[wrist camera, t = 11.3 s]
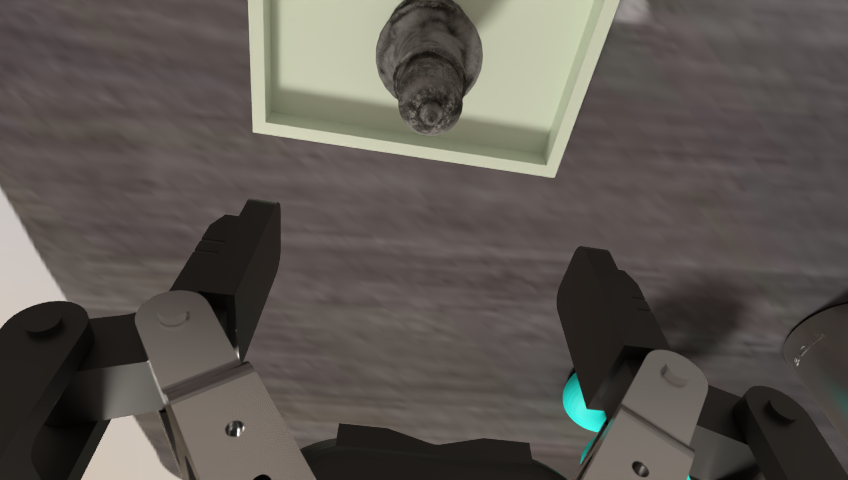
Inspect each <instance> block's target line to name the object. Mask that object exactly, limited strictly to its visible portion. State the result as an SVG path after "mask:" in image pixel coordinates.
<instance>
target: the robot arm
mask: <svg viewBox="0 0 848 480" xmlns="http://www.w3.org/2000/svg"><path fill="white" fill-rule="evenodd" d="M280 251H281V211H280V204H279V203H278V202H272V201H265V200H258V199H251V198H250V199H248V201H247V203H246V204H245V206H244V208H243V210H242V212H241V213H240V215H239V216H233V215H224V216H223V217H221V218H220V219H218V220H217V221H215V222H214V223H212V224H211V225H210V226H209V227H208V229H207V231H206V232H205V234H204V236H203V237H202V241H200V242H199V244H198V245H197V247H196V248H195V252H193V253H192V255H191V257H190V258H189V260H188V261H187V263H186V265H185V266H184V268H183V270H182V271H181V273H180V274H179V276H178V278H177V279H176V281H175V282H174V284H173V286H172V287H171V289H170V291H169V292H164V293H161V294H158V295H156V296H154V297H152V298H150V299H149V300H147V301H146V302H145V303H143V304H142V305H141V306H140V308H139V309H138V311H137V312H136V313H133V314H128V315H121V316H112V317H103V318H94V319H89V317H88V314H87V312H86V311H85V309H84V308H83V307H81V306H80V305H78V304H75V303H72V302H66V301H54V302H46V303H41V304H37V305H34V306H31V307H29V308H26V309H24V310H22V311H20V312H19V313H17V314H16V315H14V316H13V317H12V318H10V319H9V320H8V321H7V322H6V323H5V324H4V325H3V326H2V328H1V329H0V480H81V478H82V476H83V474H84V472H85V470H86V468H87V466H88V464H89V462H90V460H91V458H92V456H93V454H94V452H95V450H96V448H97V446H98V444H99V442H100V440H101V438H102V436H103V434H104V432H105V430H106V428H107V426H108V424H109V423H110V420H111V419H112V418H119V417H125V416H130V415H136V414H142V413H147V412H153V411H157V412H158V415H159V418H160V420H161V423H162V426H163V429H164V431H165V434H166V437H167V439H168V442H169V445H170V447H171V450H172V453H173V455H174V458H175V461H176V464H177V466H178V469H179V472H180V474H181V477H182V480H567V479H566V478H565V477H563V476H562V475H561V474H559V473H558V472H557V471H555V470H553V469H552V468H550V467H548V466H547V465H545V464H543V463H540V462H538V461H536V460H533V459H532V456H531V451H530V445H529V443H524V442H515V441H505V440H495V439H485V438H483V439H476V440H469V441H463V442H456V443H449V444H443V445H434V444H430V443H427V442H425V441H422V440H419V439H416V438H413V437H410V436H408V435H405V434H402V433H399V432H396V431H393V430H390V429H388V428H379V427H369V426H359V425H350V424H340V423H339V428H338V434H337V438H335V439H329V440H325V441H321V442H317V443H314V444H311V445H309V446H306V447H304V448H302V449H299V448H298V446H297V444H296V442H295V441H294V439H293V437H292V435H291V433H290V432H289V430H288V428H287V426H286V424H285V423H284V421H283V419H282V417H281V415H280V414H279V412H278V410H277V408H276V407H275V405H274V403H273V401H272V399H271V398H270V396H269V394H268V392H267V390H266V389H265V387H264V385H263V383H262V381H261V380H260V378H259V376H258V374H257V373H256V371H255V369H254V368H253V366H252V365H251V364H250V363H249V362H247V361H246V362H244V363H243V361H244V358H245V355H246V353H247V350H248V347H249V345H250V342H251V339H252V337H253V334H254V331H255V329H256V326H257V323H258V321H259V318H260V316H261V313H262V310H263V308H264V305H265V302H266V300H267V297H268V294H269V292H270V289H271V286H272V284H273V281H274V278H275V276H276V273H277V270H278V266H279V260H280ZM557 310H558V314H559V317H560V321H561V324H562V327H563V331H564V334H565V337H566V341H567V344H568V348H569V351H570V354H571V358H572V361H573V365H574V368H575V371H576V375H577V378H578V382H579V385H580V388H581V392H582V395H583V398H584V402H585V405H586V409H590V410H599V411H604V412H605V415H606V420H605V421H604V423H603V425H602V426H601V428H600V430H599V432H598V433H597V435H596V437H595V439H594V441H593V442H592V444H591V446H590V448H589V450H588V452H587V453H586V455H585V457H584V459H583V461H582V463H581V464H580V466H579V468H578V470H577V472H576V473H575V475H574V477H573V479H572V480H687V477H688V475H689V477H690V480H848V475H847V474H846V472H845V471H844V469H843V467H842V466H841V464H840V463H839V461H838V460H837V458H836V457H835V455H834V453H833V452H832V450H831V449H830V447H829V446H828V444H827V443H826V441H825V439H824V438H823V436H822V435H821V433H820V432H819V430H818V428H817V427H816V425H815V424H814V422H813V421H812V419H811V418H810V416H809V415H808V413H807V412H806V411H805V410H804V409H803V408H802V407H801V406H800V405H799V404H798V403H797V402H795V401H794V400H793V399H792V398H790V397H789V396H787V395H785V394H784V393H782V392H780V391H778V390H775V389H773V388H770V387H765V386H754V387H751V388H750V389H749V390H748V391H747V392H746V393H745V394H744V395H743V396H742V397H739V396H736V395H734V394H731V393H728V392H726V391H723V390H720V389H718V388H715V387H712V386H710V385H708V383H707V380H706V378H705V376H704V375H703V373H702V372H701V371H700V369H699V368H698V367H697V366H696V365H695V364H693V363H692V362H691V361H690V360H688V359H687V358H685V357H683V356H681V355H679V354H677V353H675V352H672V351H671V349H670V347H669V345H668V343H667V341H666V339H665V337H664V335H663V333H662V331H661V329H660V327H659V325H658V323H657V321H656V319H655V317H654V315H653V314H652V313H650V311H651V310H650V308H649V306H648V304H647V302H646V301H645V298H644V296H643V294H642V292H641V290H640V288H639V286H638V284H637V283H636V282H635V281H634V280H633V279H632V278H631V277H630V276H629V275H628V274H627V273H626V272H625V271H623V270H618V268H617V266H616V264H615V262H614V260H613V258H612V256H611V254H610V252H609V251H608V250H604V249H597V248H590V247H583V246H580V247H578V248H577V249H576V251H575V253H574V255H573V257H572V259H571V262H570V264H569V266H568V269H567V271H566V273H565V275H564V278H563V280H562V282H561V285H560V287H559V290H558V294H557ZM783 355H784V358H785V360H786V361H787V363H788V364H789V365H790V367H791V368H792V369H793V371H794V372H795V373H796V375H797V376H798V378H799V379H800V380H801V382H802V383H803V384H804V386H805V387H806V389H807V390H808V391H809V393H810V394H811V396H812V397H813V398H814V400H815V401H816V403H817V404H818V405H819V407H820V408H821V409H822V411H823V412H824V413H825V415H826V416H827V418H828V419H829V420H830V422H831V423H832V424H833V426H834V427H835V428H836V430H837V431H838V433H839V434H840V435H841V437H842V438H843V439H844V441H845V442H846V443H847V445H848V304H843V305H839V306H836V307H832V308H830V309H827V310H825V311H822V312H820V313H818V314H816V315H814V316H812V317H811V318H809V319H807V320H806V321H804V322H803V323H802V324H800V325H799V326H798V327H797V328H796V329H795V330H794V331H793V332H792V333H791V334H790V335H789V337H788V338H787V340H786V342H785V344H784V347H783Z"/></svg>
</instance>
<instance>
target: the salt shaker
mask: <svg viewBox="0 0 848 480" xmlns="http://www.w3.org/2000/svg"><path fill="white" fill-rule="evenodd" d="M482 60H483V51H482V42H481V39H480V37H479V34H478V32H477V29H476V27H475V26H474V24H473V23H472V22H471V20H470V19H469V18H468V16H467V15H466V14H465V13H464V11H463V10H462V9H461V7H460V6H459V5H458V4H456V3H455V2H454V1H453V0H405V1H403V2H402V3H401V4H400V5H399V6H398V7H397V8H396V9H395V10H394V12H393V14H392V15H391V17H390V19H389V20H388V21H387V22H386V24H385V26H384V27H383V29H382V31H381V32H380V35H379V39H378V42H377V46H376V65H377V70H378V74H379V77H380V79H381V80H382V82H383V84H384V86H385V88H386V89H387V90H388V91H389V92H390V93H391V94H392V96H393V97H394V98H396V99H397V100H398V108H399V112H400V115H401V117H402V119H403V121H404V123H405V124H406V125H407V126H408V127H409V128H410V129H411V130H413V131H415V132H416V133H419V134H422V135H428V136H434V135H440V134H442V133H445V132H447V131H448V130H450V129H451V128H452V127H454V125H455V124H456V123H457V122H458V120H459V117H460V115H461V113H462V108H463V97H464V96H466V95H467V94H468V93H469V91H470V90H471V89H472V87H473V86H474V85H475V83H476V81H477V79H478V76H479V74H480V72H481V67H482Z"/></svg>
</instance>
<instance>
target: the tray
mask: <svg viewBox="0 0 848 480" xmlns="http://www.w3.org/2000/svg"><path fill="white" fill-rule="evenodd" d="M403 1H405V0H248V12H249V39H250V65H251V92H252V119H253V132H255V133H262V134H268V135H275V136H282V137H288V138H295V139H301V140H308V141H315V142H321V143H328V144H334V145H341V146H348V147H354V148H361V149H367V150H374V151H381V152H387V153H394V154H400V155H407V156H414V157H420V158H427V159H433V160H440V161H446V162H453V163H460V164H466V165H473V166H479V167H486V168H493V169H499V170H506V171H512V172H519V173H526V174H532V175H539V176H545V177H552V178H555V175H556V172H557V169H558V167H559V164H560V161H561V159H562V156H563V153H564V150H565V148H566V145H567V142H568V140H569V137H570V134H571V131H572V129H573V126H574V123H575V121H576V118H577V115H578V112H579V110H580V107H581V104H582V102H583V99H584V96H585V93H586V91H587V88H588V85H589V83H590V80H591V77H592V74H593V72H594V69H595V66H596V64H597V61H598V58H599V55H600V53H601V50H602V47H603V45H604V42H605V39H606V36H607V34H608V31H609V28H610V26H611V23H612V20H613V18H614V15H615V12H616V9H617V7H618V4H619V1H620V0H453V1H454V2H455V3H456V4H458V5H459V6H460V7H461V9H462V10H463V11H464V13H465V14H466V15H467V16H468V18H469V19H470V20H471V22H472V23H473V24H474V26H475V27H476V29H477V32H478V34H479V37H480V39H481V42H482V51H483V60H482V67H481V72H480V74H479V76H478V79H477V81H476V83H475V85H474V86H473V87H472V89H471V90H470V91H469V93H468V94H467V95H466V96H464V97H463V108H462V113H461V115H460V117H459V120H458V122H457V123H456V124H455V125H454V127H452V128H451V129H450V130H448V131H447V132H445V133H442V134H440V135H434V136H428V135H422V134H419V133H416V132H415V131H413V130H411V129H410V128H409V127H408V126H407V125H406V124H405V123H404V121H403V119H402V117H401V115H400V112H399V108H398V100H397V99H396V98H394V97H393V96H392V94H391V93H390V92H389V91H388V90H387V89H386V88H385V86H384V84H383V82H382V80H381V79H380V77H379V74H378V70H377V65H376V46H377V42H378V39H379V35H380V32H381V31H382V29H383V27H384V26H385V24H386V22H387V21H388V20H389V19H390V17H391V15H392V14H393V12H394V10H395V9H396V8H397V7H398V6H399V5H400V4H401V3H402V2H403Z"/></svg>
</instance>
